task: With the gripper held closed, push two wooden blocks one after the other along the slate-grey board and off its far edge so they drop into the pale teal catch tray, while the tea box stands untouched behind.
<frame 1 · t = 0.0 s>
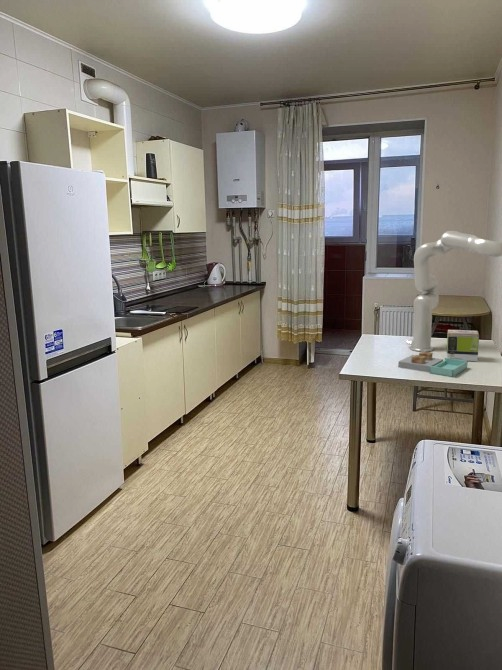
tea box: (461, 359, 272), on the table
board: (420, 366, 259), on the table
tray: (448, 370, 250), on the table
wooden block 2: (418, 362, 255), point 3 cm above the table, touching board
wooden block 1: (425, 358, 262), point 3 cm above the table, touching board
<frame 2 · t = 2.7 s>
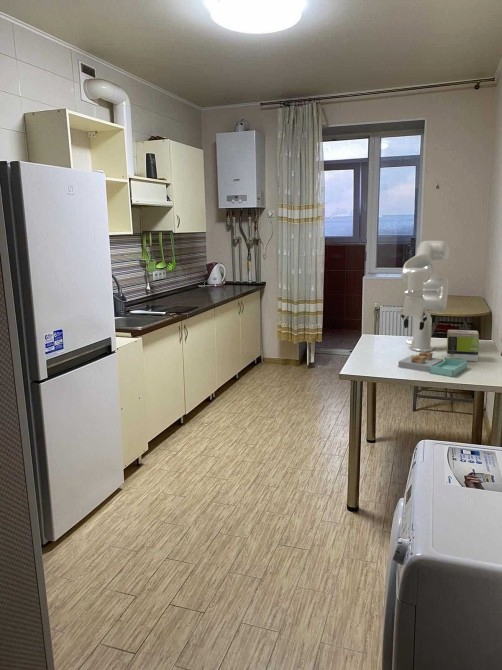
hand: (413, 328, 263), 18 cm above the table, tool pointing down, fingers open, 7 cm apart
nothing on the table moved.
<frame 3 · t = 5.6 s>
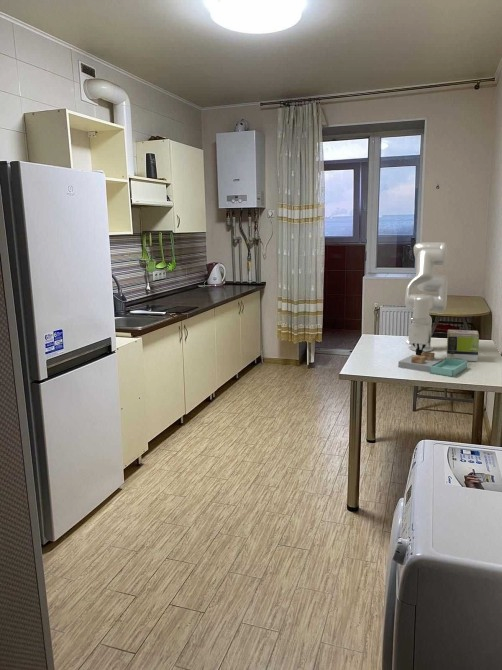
hand: (418, 356, 264), 4 cm above the table, tool pointing down, fingers closed
wooden block 1: (427, 359, 261), point 3 cm above the table, touching gripper
everything else where it was.
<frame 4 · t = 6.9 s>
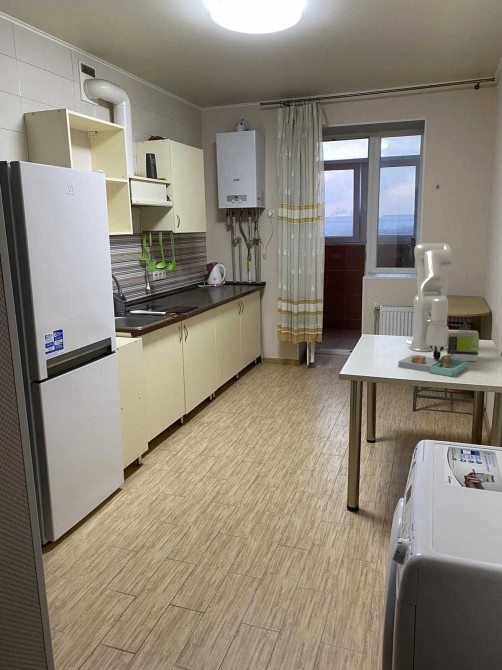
hand: (436, 359, 258), 4 cm above the table, tool pointing down, fingers closed
wooden block 1: (443, 361, 256), point 3 cm above the table, tilted 72°, touching tray
everything else where it was.
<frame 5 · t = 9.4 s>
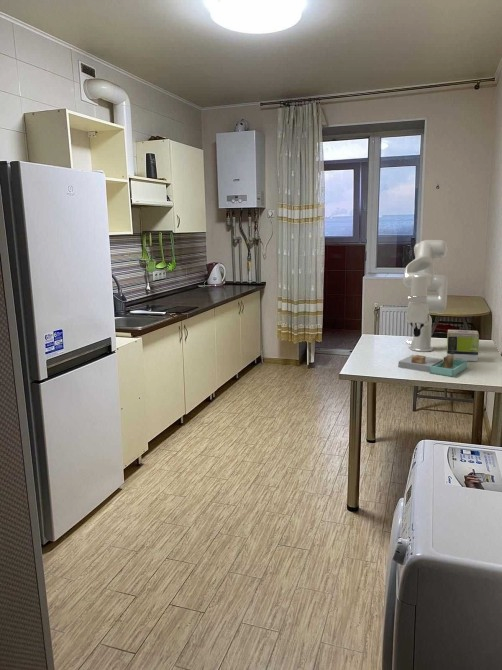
hand: (416, 336, 256), 15 cm above the table, tool pointing down, fingers closed
wooden block 1: (445, 361, 255), point 3 cm above the table, tilted 90°, touching tray
everything else where it was.
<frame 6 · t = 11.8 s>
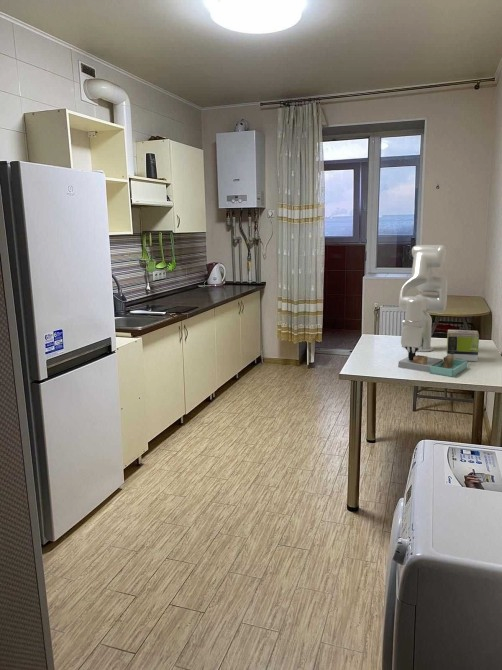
hand: (411, 359, 257), 4 cm above the table, tool pointing down, fingers closed
wooden block 2: (420, 362, 254), point 3 cm above the table, touching gripper
everything else where it was.
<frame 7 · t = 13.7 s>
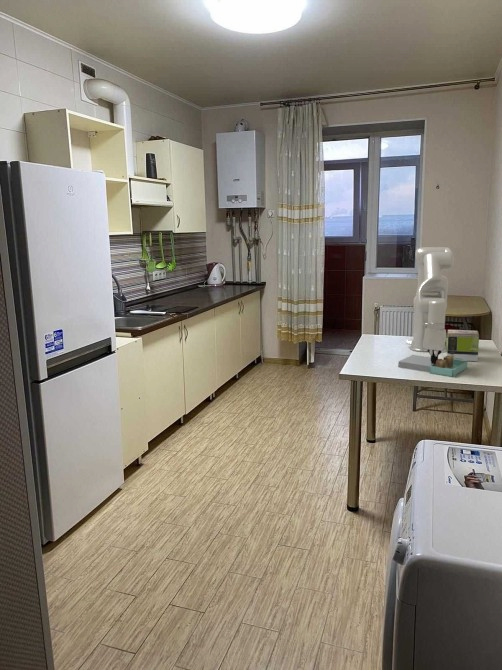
hand: (434, 363, 250), 4 cm above the table, tool pointing down, fingers closed
wooden block 2: (437, 364, 249), point 3 cm above the table, tilted 98°, touching gripper, tray
everything else where it was.
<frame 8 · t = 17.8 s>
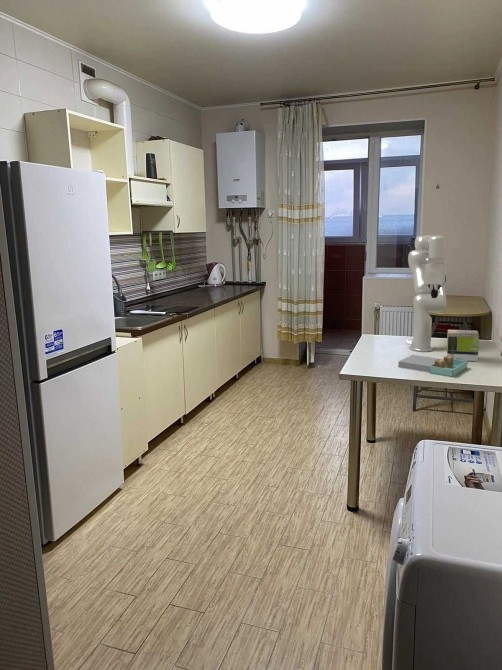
hand: (434, 297, 262), 33 cm above the table, tool pointing down, fingers closed
wooden block 2: (436, 365, 249), point 3 cm above the table, tilted 90°, touching tray
everything else where it was.
at the end: wooden block 1 inside the target area on the tray (5.9 cm from its centre), point 3.1 cm above the tray's base; wooden block 2 inside the target area on the tray (6.7 cm from its centre), point 3.1 cm above the tray's base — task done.
